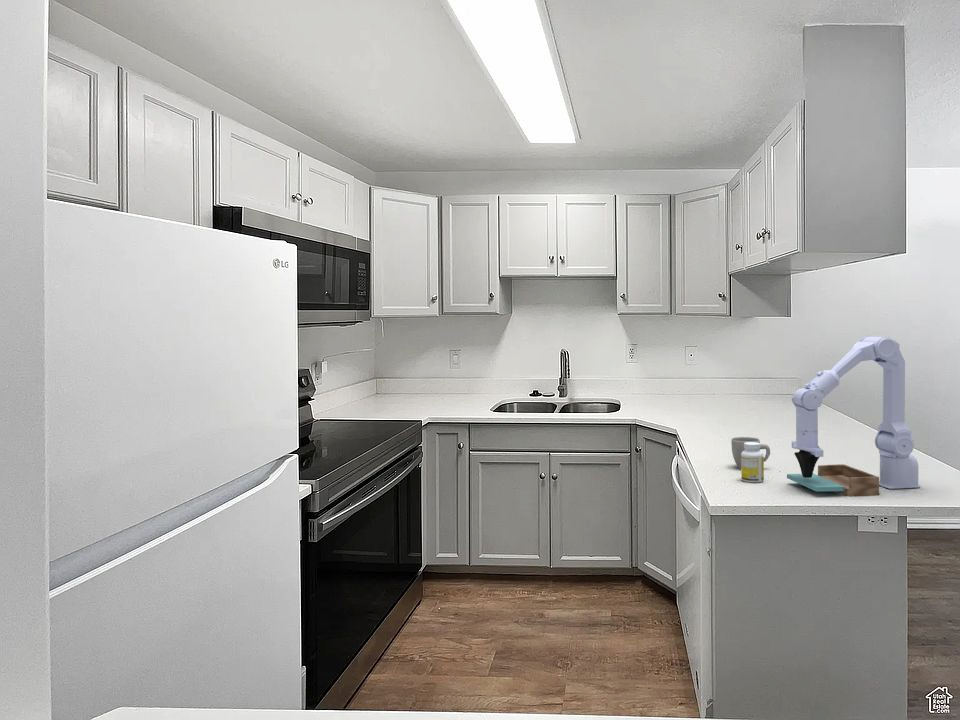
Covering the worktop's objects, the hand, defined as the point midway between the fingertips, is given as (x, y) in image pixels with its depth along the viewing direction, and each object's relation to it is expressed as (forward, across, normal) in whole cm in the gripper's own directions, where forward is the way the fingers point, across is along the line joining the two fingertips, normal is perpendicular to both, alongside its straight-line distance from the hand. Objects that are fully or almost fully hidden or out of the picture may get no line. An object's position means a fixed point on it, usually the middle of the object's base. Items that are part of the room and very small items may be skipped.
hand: (807, 477), depth 217 cm
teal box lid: (+2, 0, +6) cm, 6 cm away
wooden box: (+4, 0, +11) cm, 12 cm away
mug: (+4, -31, -3) cm, 32 cm away
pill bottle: (+4, -14, -10) cm, 18 cm away
